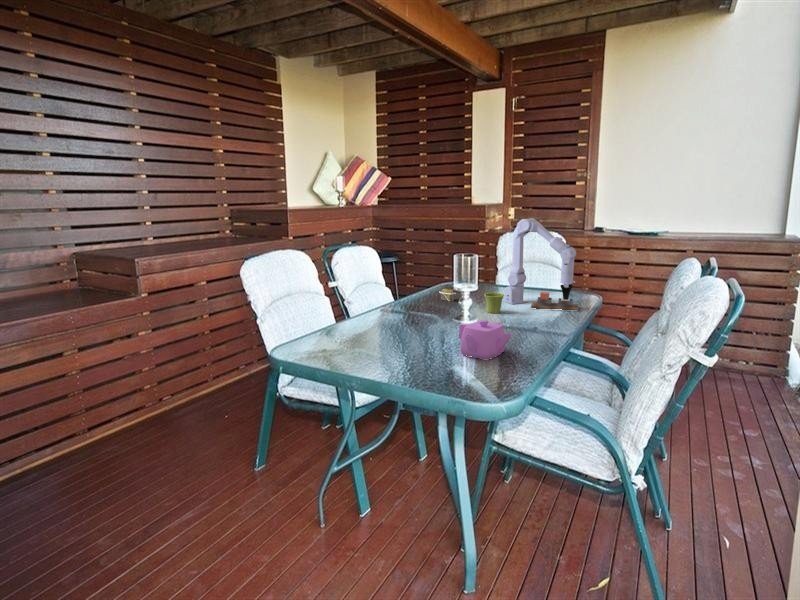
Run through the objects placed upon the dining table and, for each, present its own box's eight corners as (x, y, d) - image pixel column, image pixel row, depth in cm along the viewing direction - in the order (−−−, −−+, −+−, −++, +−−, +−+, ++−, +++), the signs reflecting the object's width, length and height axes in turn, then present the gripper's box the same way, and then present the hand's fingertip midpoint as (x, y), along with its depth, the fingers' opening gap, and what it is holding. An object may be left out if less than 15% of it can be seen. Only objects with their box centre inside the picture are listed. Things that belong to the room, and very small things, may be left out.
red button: (549, 298, 254) (549, 292, 253) (548, 299, 250) (549, 293, 249) (540, 297, 255) (540, 291, 254) (540, 299, 251) (540, 293, 251)
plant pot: (507, 313, 242) (508, 295, 240) (490, 315, 238) (491, 297, 237) (496, 309, 250) (497, 292, 248) (480, 311, 247) (480, 293, 245)
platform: (455, 305, 261) (455, 293, 260) (426, 301, 272) (426, 289, 270) (466, 301, 271) (467, 289, 269) (438, 297, 281) (438, 286, 280)
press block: (577, 307, 253) (578, 298, 252) (577, 312, 243) (578, 302, 242) (532, 304, 260) (533, 295, 259) (530, 308, 250) (531, 300, 249)
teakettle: (498, 345, 191) (499, 314, 189) (513, 360, 175) (514, 325, 172) (454, 347, 189) (454, 315, 187) (465, 362, 173) (466, 327, 170)
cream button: (569, 304, 251) (570, 298, 250) (569, 306, 247) (570, 300, 247) (560, 304, 252) (561, 298, 252) (560, 305, 249) (561, 299, 248)
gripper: (575, 274, 238) (574, 302, 241) (576, 270, 252) (574, 296, 255) (560, 274, 241) (558, 301, 243) (561, 269, 254) (559, 296, 257)
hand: (565, 299), depth 249 cm, fingers closed, pressing on cream button
